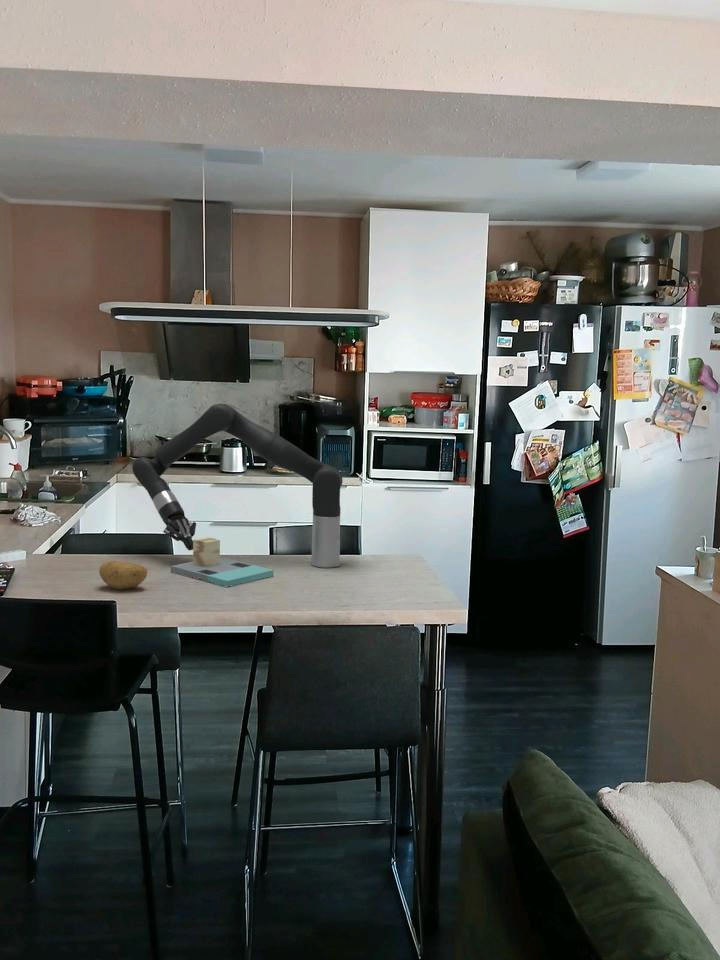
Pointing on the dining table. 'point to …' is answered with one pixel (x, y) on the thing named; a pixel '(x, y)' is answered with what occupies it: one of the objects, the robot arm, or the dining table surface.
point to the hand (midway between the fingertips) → (192, 548)
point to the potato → (122, 574)
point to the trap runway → (224, 572)
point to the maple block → (206, 551)
